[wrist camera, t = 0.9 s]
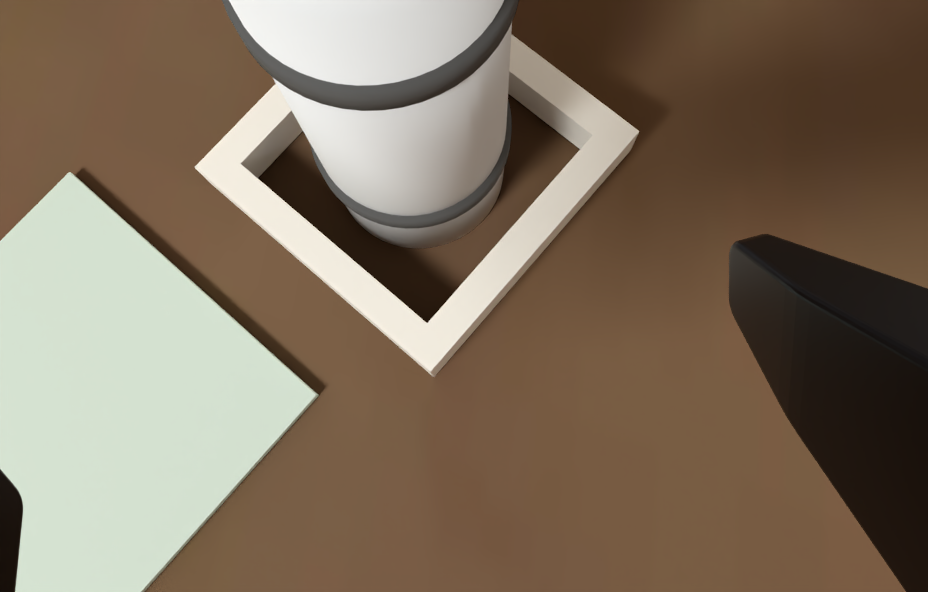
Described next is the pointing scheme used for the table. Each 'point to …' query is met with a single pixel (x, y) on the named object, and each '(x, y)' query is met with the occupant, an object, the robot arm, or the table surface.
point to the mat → (121, 398)
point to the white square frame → (470, 304)
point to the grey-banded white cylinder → (395, 104)
